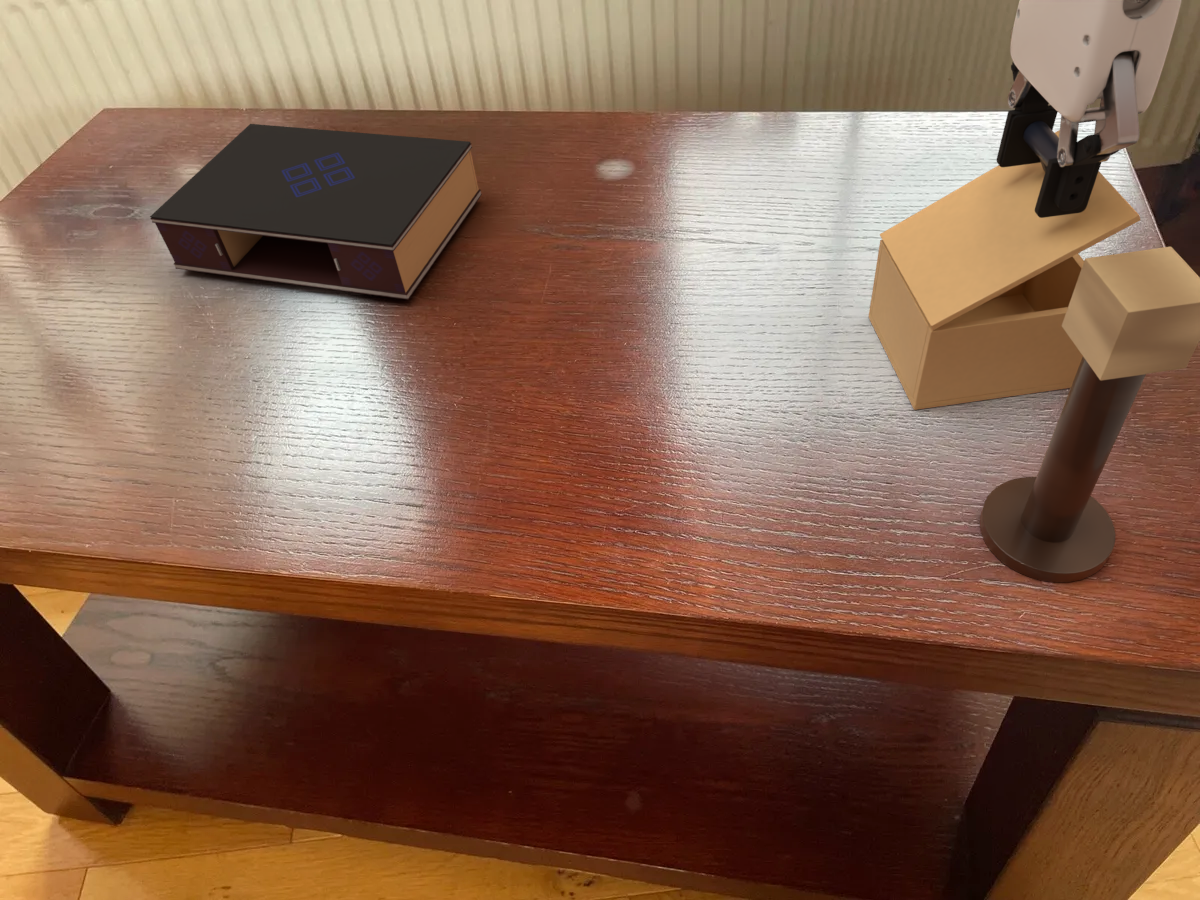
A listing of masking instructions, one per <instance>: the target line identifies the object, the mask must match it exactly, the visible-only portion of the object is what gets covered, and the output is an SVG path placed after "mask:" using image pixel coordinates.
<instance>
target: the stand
mask: <svg viewBox="0 0 1200 900" xmlns="http://www.w3.org/2000/svg"><path fill="white" fill-rule="evenodd" d="M1146 376H1147V374H1144V375H1136V376H1129V377H1122V378H1115V379H1108V380H1100V379H1099V378H1098V377H1097V375H1096V374H1095V372H1094V371H1093V369H1092V368H1091V367H1090V365H1089V364H1088V362H1087V361H1086V360H1085V358H1084V357H1082V360H1081V362H1080V365H1079V367H1078V370H1077V373H1076V375H1075V378H1074V380H1073V383H1072V386H1071V388H1069V390H1068V394H1067V396H1066V399H1065V402H1064V404H1063V407H1062V410H1061V412H1060V415H1059V416H1058V417H1059V418H1058V420H1057V423H1056V425H1055V427H1054V430H1053V433H1052V436H1051V438H1050V441H1049V444H1048V446H1047V448H1046V452H1045V454H1044V457H1043V459H1042V462H1041V464H1040V466H1039V470H1038V472H1037V474H1036V476H1022V477H1018V478H1017V477H1016V478H1013V479H1010V480H1007V481H1005V482H1003V483H1000V485H998V486H997V487H995V488H994V489H993V490H992V491H991V492H990V493H989V494H988V495H987V497H986V498H985V501H984V503H983V506H982V508H981V512H980V515H979V529H980V534H981V536H982V539H983V541H984V543H985V545H986V546H987V548H988V549H989V550H990V552H991V553H992V554H993V555H994V556H995V557H996V558H997V560H999V561H1000V562H1002V564H1004V565H1005V566H1006V567H1008V568H1010V569H1011V570H1013V571H1015V572H1016V573H1019V574H1021V575H1023V576H1026V577H1028V578H1032V579H1034V580H1037V581H1038V580H1039V581H1043V582H1049V583H1073V582H1078V581H1081V580H1083V579H1088V578H1089V577H1091V576H1093V575H1095V574H1096V573H1097V572H1099V571H1100V570H1101V569H1103V567H1104V566H1105V565H1106V563H1107V562H1108V560H1109V558H1110V556H1111V554H1112V553H1113V550H1114V548H1115V543H1116V530H1115V529H1116V528H1115V525H1114V522H1113V520H1112V519H1111V515H1110V514H1109V513H1108V511H1107V510H1106V508H1104V506H1103V505H1102V504H1101V503H1100V502H1099V501H1098V500H1097V499H1096V498H1094V497H1093V496H1092V493H1093V492H1094V489H1095V487H1096V485H1097V483H1098V482H1099V481H1098V480H1099V478H1100V476H1101V474H1102V472H1103V469H1104V467H1105V465H1106V463H1107V461H1108V459H1109V456H1110V455H1111V452H1112V450H1113V448H1114V446H1115V443H1116V441H1117V439H1118V437H1119V434H1120V433H1121V430H1122V428H1123V426H1124V424H1125V422H1126V419H1127V417H1128V415H1129V412H1131V411H1130V410H1131V409H1132V406H1133V404H1134V402H1135V399H1136V398H1137V395H1138V393H1139V391H1140V389H1141V387H1142V384H1143V382H1144V380H1145V378H1146Z"/></svg>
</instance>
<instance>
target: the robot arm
mask: <svg viewBox="0 0 1200 900" xmlns="http://www.w3.org/2000/svg"><path fill="white" fill-rule="evenodd" d="M1181 4H1182V0H1019V2H1018V5H1017V9H1016V13H1015V18H1014V22H1013V26H1012V28H1011V30H1010V46H1009V54H1010V57H1011V60H1012V62H1011V63H1012V64H1011V65H1010V70H1011V72H1012V81H1013V83H1012V85H1011V87H1010V89H1009V92H1008V94H1007V105H1008V107H1009V108H1010V109H1012V110H1008V111H1007V115H1006V120H1005V123H1004V127H1003V131H1002V136H1001V139H1000V143H999V147H998V152H997V156H996V163H997V164H998V165H999V166H1000V167H1011V166H1018V165H1026V164H1033V163H1040V159H1039V157H1038V156H1037V154H1036V153H1035V152H1034V151H1033V150H1032V149H1031V147H1030V146H1029V145H1028V144H1027V143H1026V142H1025V140H1024V137H1023V136H1024V132H1025V130H1026V128H1027V127H1028V126H1029V125H1030V124H1032V123H1034V122H1037V121H1042V122H1045V123H1046V124H1047V125H1048V126H1049V127H1050V129H1051V130H1052V131H1053V130H1054V126H1055V123H1056V120H1057V116H1058V114H1059V115H1060V124H1059V130H1060V132H1059V142H1058V152H1057V158H1054V159H1049V161H1048V165H1047V168H1046V172H1045V175H1044V179H1043V182H1042V186H1041V189H1040V193H1039V196H1038V199H1037V203H1036V206H1035V213H1036V214H1037V215H1038V217H1040V218H1044V217H1052V216H1059V215H1067V214H1074V213H1080V212H1083V211H1084V210H1085V209H1086V207H1087V204H1088V201H1089V198H1090V195H1091V192H1092V189H1093V186H1094V183H1095V180H1096V177H1097V174H1098V171H1099V172H1100V168H1101V165H1102V163H1105V162H1108V161H1109V159H1110V157H1111V156H1112V155H1115V154H1117V153H1118V152H1119V151H1121V150H1124V149H1126V148H1128V147H1131V146H1133V145H1135V144H1137V143H1138V141H1139V140H1140V133H1141V132H1140V122H1139V120H1140V119H1139V115H1140V114H1144V113H1145V112H1146V111H1147V110H1148V108H1149V106H1150V105H1151V103H1152V101H1153V98H1154V95H1155V93H1156V91H1157V87H1158V84H1159V81H1160V78H1161V76H1162V72H1163V70H1164V69H1163V68H1164V65H1165V62H1166V59H1167V56H1168V52H1169V49H1170V45H1171V42H1172V39H1173V34H1174V32H1175V27H1176V24H1177V21H1178V16H1179V12H1180V9H1181V6H1182V5H1181ZM1099 99H1100V102H1099V106H1096V107H1095V106H1093V107H1088V105H1093V104H1094V103H1095V102H1096V101H1097V100H1099ZM1090 122H1095V123H1094V132H1093V133H1094V134H1089V135H1086V136H1085V137H1082V138H1081V139H1079V140H1078V134H1079V125H1080V124H1082V123H1090Z"/></svg>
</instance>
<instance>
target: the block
mask: <svg viewBox="0 0 1200 900" xmlns="http://www.w3.org/2000/svg"><path fill="white" fill-rule="evenodd" d="M1083 260H1084V263H1083V266H1082V269H1081V272H1080V275H1079V278H1078V280H1077V283H1076V286H1075V289H1074V292H1073V295H1072V298H1071V300H1070V303H1069V306H1068V309H1067V312H1066V315H1065V318H1064V320H1063V323H1062V327H1063V329H1064V330H1065V332H1066V333H1067V334H1068V336H1069V337H1070V339H1071V340H1072V341H1073V343H1074V344H1075V346H1076V347H1077V348H1078V350H1079V351H1080V353H1081V354H1082V355H1083V357H1084V358H1085V360H1086V361H1087V362H1088V364H1089V365H1090V367H1091V368H1092V369H1093V371H1094V372H1095V374H1096V375H1097V377H1098V378H1099V379H1100V380H1108V379H1115V378H1122V377H1129V376H1136V375H1144V374H1146V375H1150V374H1158V373H1163V372H1170V371H1171V372H1172V371H1177V370H1178V371H1179V370H1185V369H1187V367H1188V365H1189V363H1190V361H1191V359H1192V357H1193V355H1194V353H1195V351H1196V349H1197V346H1198V345H1199V343H1200V276H1199V275H1198V274H1197V273H1196V272H1195V271H1194V270H1193V269H1192V267H1191V266H1190V265H1189V264H1188V263H1187V262H1186V260H1184V258H1182V257H1181V256H1180V254H1179V253H1178V252H1177V251H1176V250H1175V249H1174V247H1172V246H1164V247H1156V248H1149V249H1143V250H1135V251H1129V252H1122V253H1121V252H1120V253H1114V254H1113V253H1112V254H1107V255H1100V256H1092V257H1085V258H1084V259H1083Z"/></svg>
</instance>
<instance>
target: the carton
mask: <svg viewBox="0 0 1200 900" xmlns="http://www.w3.org/2000/svg"><path fill="white" fill-rule="evenodd" d="M878 245H879V246H878V253H877V260H876V266H875V272H874V279H873V285H872V291H871V296H870V297H871V298H870V305H869V311H868V319H869V322H870V323H871V326H872V328H873V329H874V332H875V334H876V336H877V337H878V340H879V341H880V343H881V346H882V348H883V350H884V353H885V354H886V356H887V358H888V360H889V362H890V364H891V366H892V368H893V370H894V372H895V374H896V376H897V378H898V380H899V382H900V384H901V386H902V388H903V391H904V392H905V394H906V397H907V399H908V400H909V403H910V405H911V407H912V408H913V410H914V411H917V410H922V409H930V408H931V409H932V408H936V407H937V408H938V407H946V406H953V405H960V404H966V403H973V402H981V401H988V400H994V399H1001V398H1008V397H1009V398H1010V397H1014V396H1015V397H1016V396H1024V395H1031V394H1037V393H1038V394H1039V393H1043V392H1045V393H1046V392H1051V391H1058V390H1065V389H1066V390H1067V389H1070V388H1071V386H1072V383H1073V380H1074V378H1075V375H1076V373H1077V370H1078V367H1079V365H1080V362H1081V360H1082V357H1083V355H1082V354H1081V353H1080V351H1079V350H1078V348H1077V347H1076V346H1075V344H1074V343H1073V341H1072V340H1071V339H1070V337H1069V336H1068V334H1067V333H1066V332H1065V330H1064V329H1063V327H1062V323H1063V320H1064V318H1065V315H1066V312H1067V309H1068V306H1069V303H1070V300H1071V298H1072V295H1073V292H1074V289H1075V286H1076V283H1077V280H1078V278H1079V275H1080V272H1081V269H1082V266H1083V263H1084V260H1085V259H1084V258H1082V256H1081V254H1080V253H1078V254H1076V255H1074V256H1072V257H1070V258H1068V259H1067V260H1065V261H1063V262H1061V263H1059V264H1057V265H1055V266H1053V267H1051V268H1050V269H1048V270H1046V271H1044V272H1042V273H1040V274H1038V275H1036V276H1035V277H1033V278H1031V279H1029V280H1027V281H1025V282H1023V283H1021V284H1019V285H1018V286H1016V287H1014V288H1012V289H1010V290H1008V291H1006V292H1004V293H1002V294H1001V295H999V296H997V297H995V298H993V299H991V300H989V301H987V302H985V303H984V304H982V305H980V306H978V307H976V308H974V309H972V310H970V311H968V312H967V313H965V314H963V315H961V316H959V317H957V318H955V319H953V320H952V321H950V322H948V323H946V324H944V325H942V326H940V327H938V328H936V329H935V330H933V329H932V328H931V326H930V324H929V322H928V320H927V319H926V317H925V315H924V313H923V311H922V310H921V308H920V306H919V304H918V303H917V301H916V299H915V297H914V295H913V294H912V292H911V290H910V288H909V286H908V285H907V283H906V281H905V279H904V277H903V276H902V274H901V272H900V270H899V269H898V267H897V265H896V263H895V261H894V260H893V258H892V256H891V254H890V252H889V251H888V249H887V247H886V245H885V244H884V242H883V240H882V239H880V241H879V244H878Z"/></svg>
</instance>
